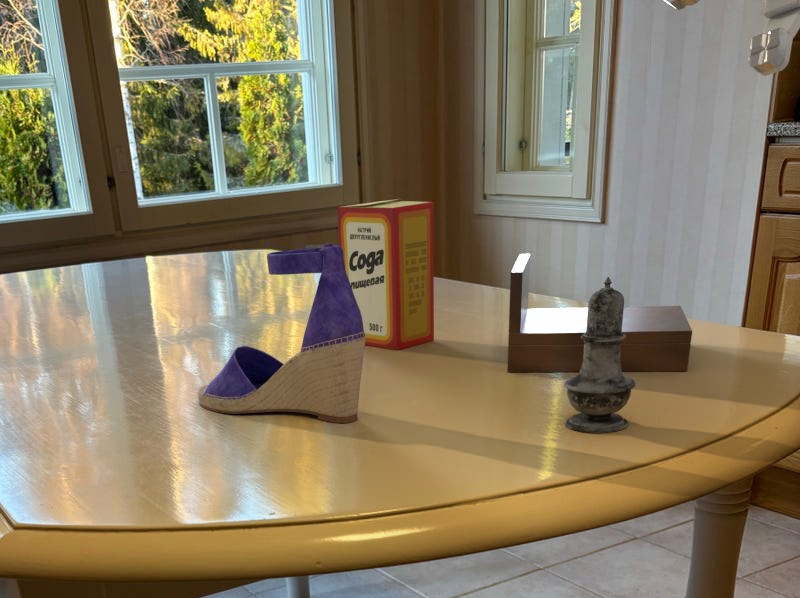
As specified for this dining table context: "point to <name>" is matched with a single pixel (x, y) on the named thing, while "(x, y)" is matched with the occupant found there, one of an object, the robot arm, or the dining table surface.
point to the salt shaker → (601, 368)
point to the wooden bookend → (562, 329)
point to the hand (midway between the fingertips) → (726, 37)
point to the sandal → (302, 351)
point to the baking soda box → (391, 269)
